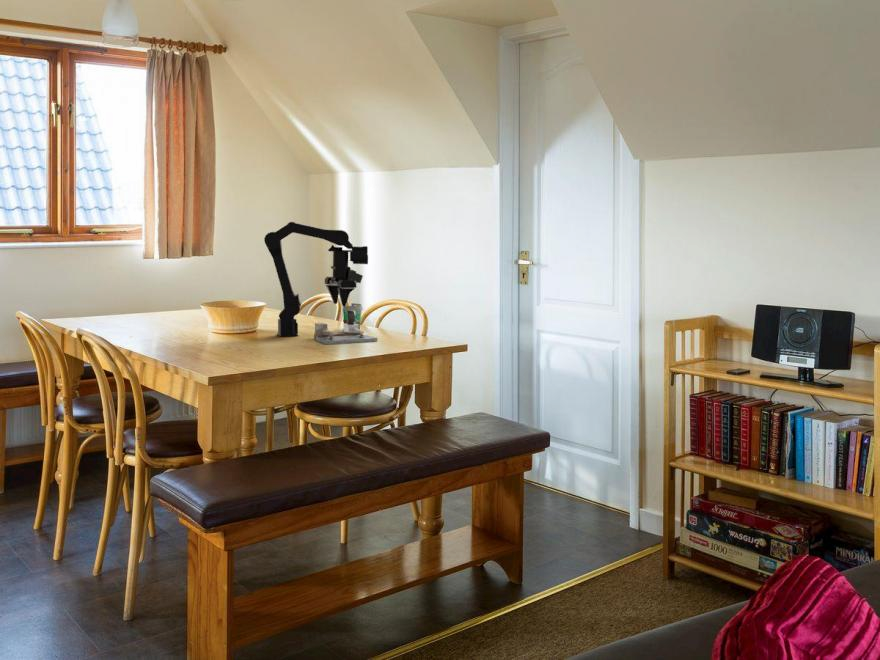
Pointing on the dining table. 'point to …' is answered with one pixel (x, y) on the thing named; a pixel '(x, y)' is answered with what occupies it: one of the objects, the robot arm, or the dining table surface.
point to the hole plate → (346, 339)
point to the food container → (357, 309)
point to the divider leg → (352, 324)
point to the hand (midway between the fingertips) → (339, 305)
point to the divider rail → (322, 331)
